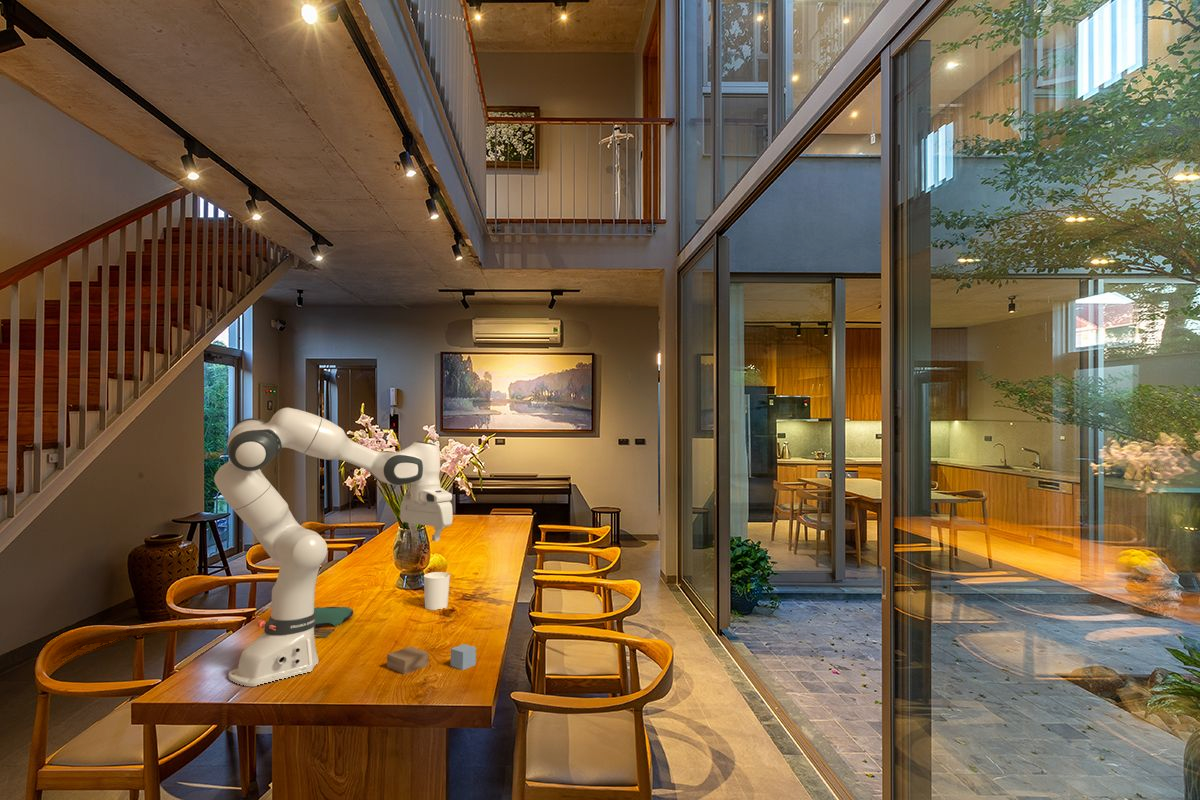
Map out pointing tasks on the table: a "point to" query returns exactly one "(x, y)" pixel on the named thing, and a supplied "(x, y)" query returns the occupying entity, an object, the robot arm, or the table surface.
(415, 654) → the walnut base
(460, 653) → the block
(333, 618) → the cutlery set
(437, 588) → the candle holder
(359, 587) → the table surface
